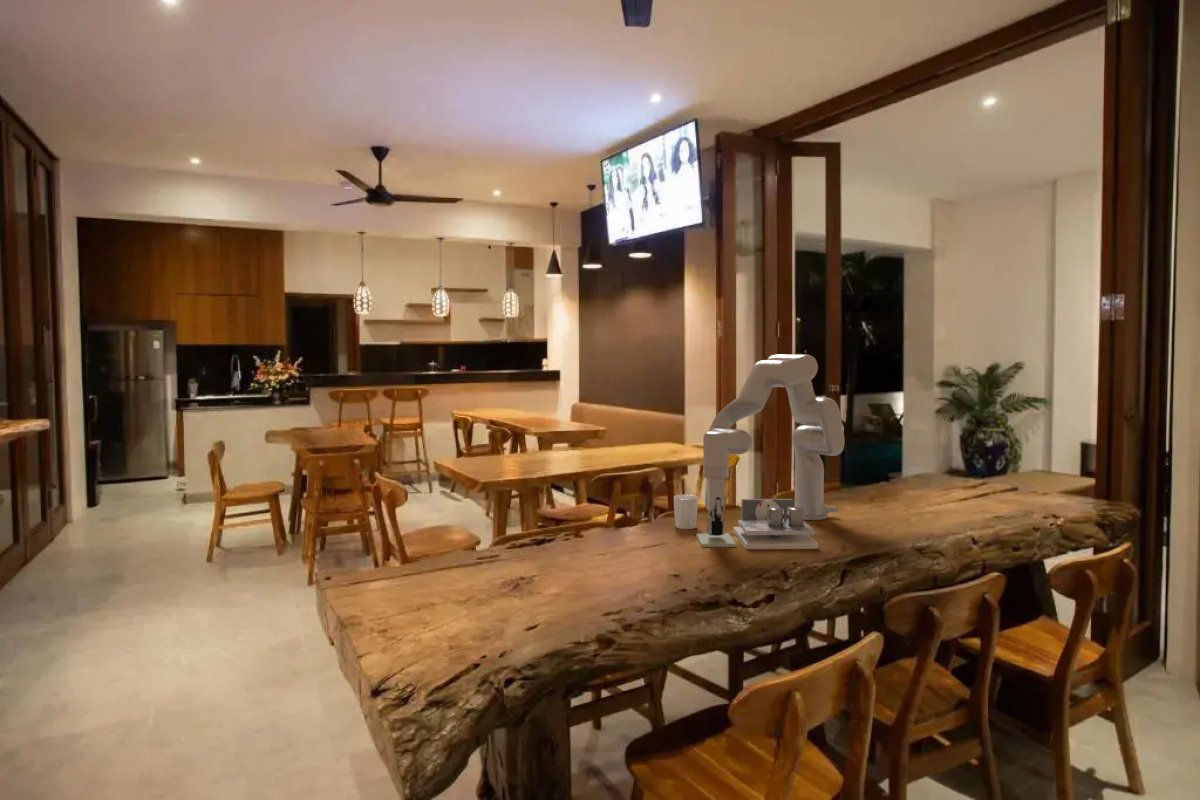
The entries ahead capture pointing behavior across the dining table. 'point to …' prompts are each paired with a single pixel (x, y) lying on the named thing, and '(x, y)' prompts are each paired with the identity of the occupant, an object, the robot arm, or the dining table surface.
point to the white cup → (685, 511)
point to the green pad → (716, 540)
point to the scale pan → (773, 528)
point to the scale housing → (758, 511)
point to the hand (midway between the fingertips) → (715, 531)
